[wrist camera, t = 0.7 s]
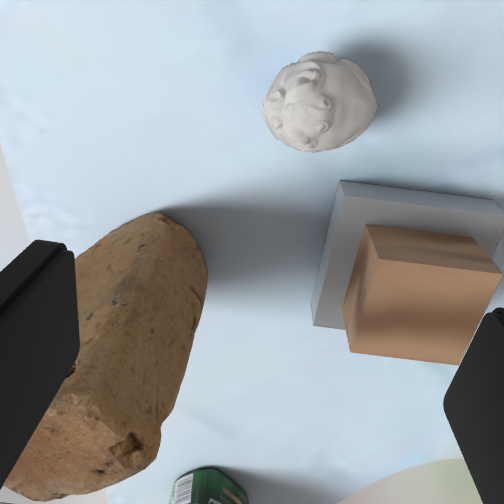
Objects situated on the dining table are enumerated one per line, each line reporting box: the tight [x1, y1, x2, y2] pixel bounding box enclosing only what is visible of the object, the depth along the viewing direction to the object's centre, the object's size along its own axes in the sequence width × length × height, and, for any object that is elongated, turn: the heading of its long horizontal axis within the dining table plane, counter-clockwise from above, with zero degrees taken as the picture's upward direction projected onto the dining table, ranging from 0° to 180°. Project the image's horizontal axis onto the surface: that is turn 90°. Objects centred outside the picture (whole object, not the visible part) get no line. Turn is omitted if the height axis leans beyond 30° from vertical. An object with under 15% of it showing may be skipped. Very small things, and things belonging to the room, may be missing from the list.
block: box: [3, 213, 208, 502], centre depth 29 cm, size 11×8×20 cm
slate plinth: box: [311, 180, 504, 330], centre depth 35 cm, size 12×12×3 cm
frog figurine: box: [263, 51, 377, 152], centre depth 27 cm, size 6×7×7 cm
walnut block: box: [342, 224, 503, 365], centre depth 32 cm, size 8×8×5 cm
